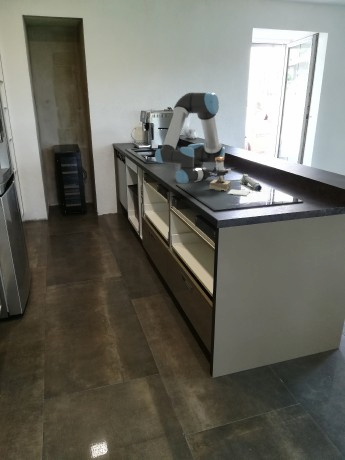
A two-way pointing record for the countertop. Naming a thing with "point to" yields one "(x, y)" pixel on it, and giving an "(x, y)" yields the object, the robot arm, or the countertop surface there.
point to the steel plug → (219, 168)
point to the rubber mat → (238, 192)
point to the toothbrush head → (250, 182)
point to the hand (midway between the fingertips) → (227, 170)
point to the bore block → (220, 185)
